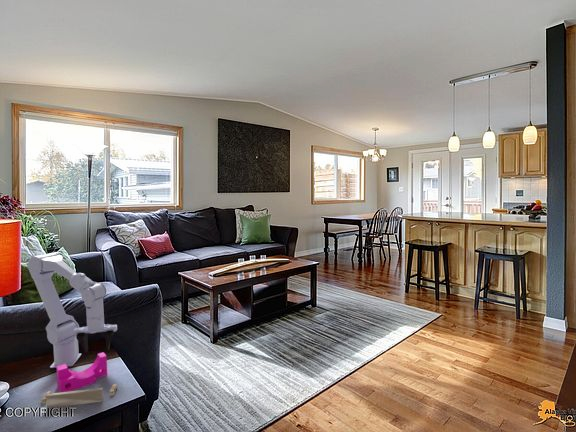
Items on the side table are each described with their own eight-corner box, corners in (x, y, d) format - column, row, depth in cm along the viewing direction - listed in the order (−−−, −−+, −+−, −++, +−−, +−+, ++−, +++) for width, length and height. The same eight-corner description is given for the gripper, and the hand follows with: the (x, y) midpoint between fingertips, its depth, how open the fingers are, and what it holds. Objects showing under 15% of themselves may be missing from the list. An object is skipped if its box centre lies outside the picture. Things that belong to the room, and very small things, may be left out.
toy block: (61, 394, 116) (60, 373, 115) (57, 386, 120) (56, 366, 120) (109, 377, 126) (108, 358, 126) (104, 371, 131) (103, 352, 130)
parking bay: (47, 395, 115) (47, 384, 115) (117, 387, 120) (116, 376, 119) (37, 409, 108) (36, 397, 108) (111, 400, 113) (110, 388, 112)
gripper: (69, 321, 125) (71, 357, 126) (113, 318, 128) (114, 353, 129) (77, 314, 132) (79, 348, 133) (118, 311, 135) (119, 345, 136)
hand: (97, 350), depth 132 cm, fingers open, 7 cm apart
